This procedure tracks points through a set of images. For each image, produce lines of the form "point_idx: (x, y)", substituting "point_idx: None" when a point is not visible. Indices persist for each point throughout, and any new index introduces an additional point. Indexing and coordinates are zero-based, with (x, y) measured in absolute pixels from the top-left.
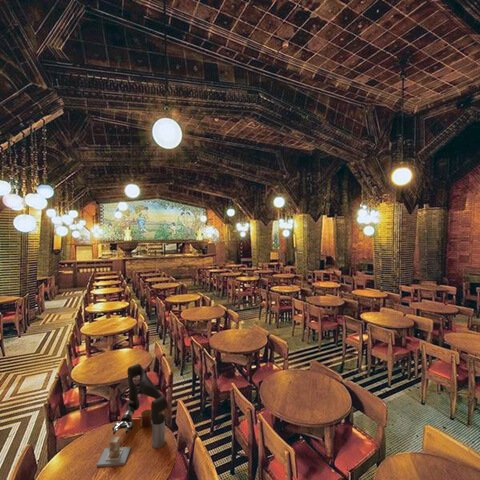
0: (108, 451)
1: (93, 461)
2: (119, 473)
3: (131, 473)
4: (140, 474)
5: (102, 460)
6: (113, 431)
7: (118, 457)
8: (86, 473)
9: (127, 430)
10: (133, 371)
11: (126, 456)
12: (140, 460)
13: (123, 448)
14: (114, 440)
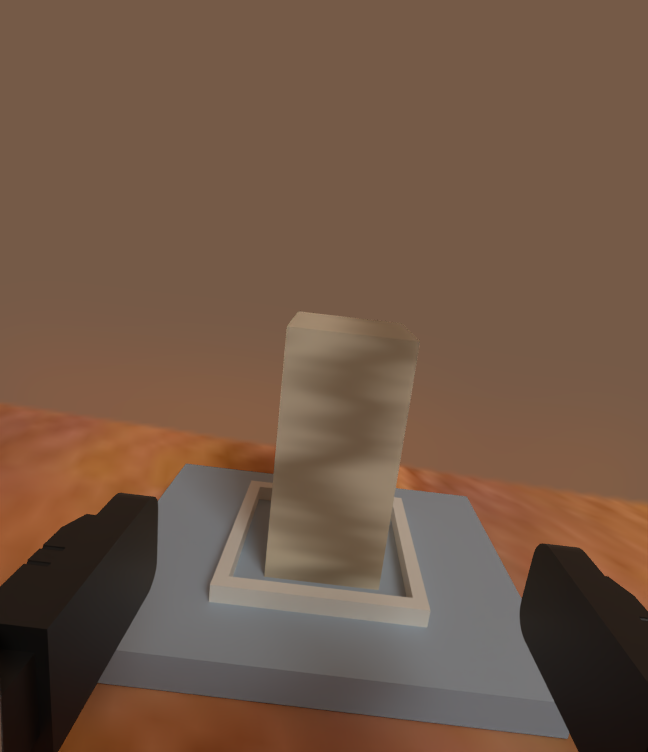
0: (453, 622)
1: None
2: (228, 446)
3: (134, 431)
4: (69, 417)
5: (439, 519)
6: (615, 592)
7: (261, 514)
8: (506, 490)
9: (74, 531)
10: None
11: (161, 507)
12: (8, 488)
13: (202, 629)
14: (345, 321)
